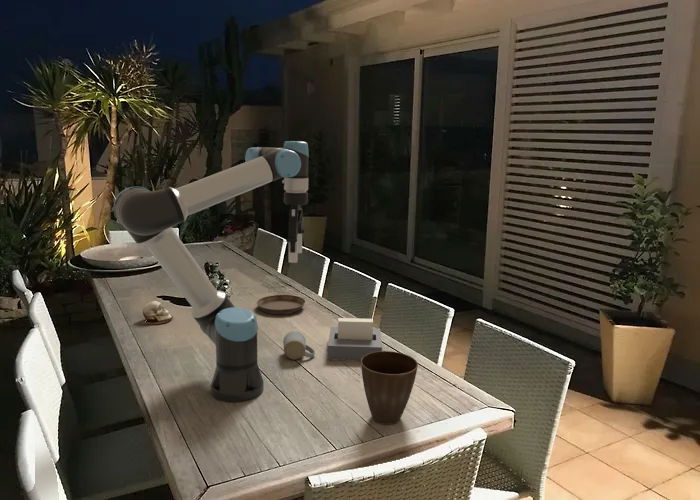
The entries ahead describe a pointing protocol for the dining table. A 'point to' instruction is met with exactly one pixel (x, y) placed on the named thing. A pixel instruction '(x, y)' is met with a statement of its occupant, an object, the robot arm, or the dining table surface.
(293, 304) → the plant saucer
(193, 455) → the dining table surface
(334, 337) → the plate
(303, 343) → the ceramic mug
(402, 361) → the plant pot
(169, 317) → the skull
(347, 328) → the bar
